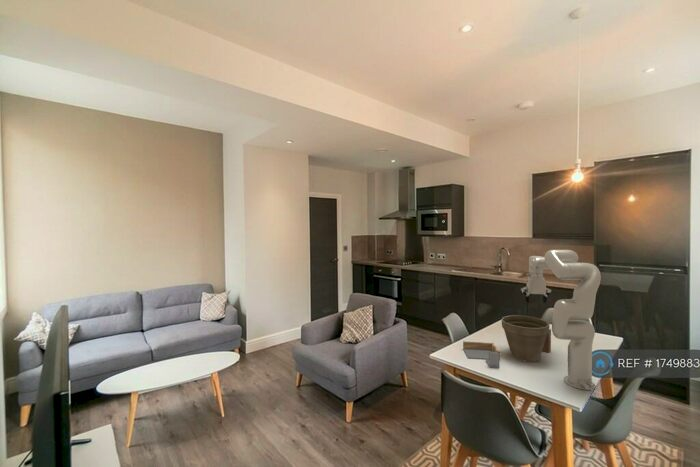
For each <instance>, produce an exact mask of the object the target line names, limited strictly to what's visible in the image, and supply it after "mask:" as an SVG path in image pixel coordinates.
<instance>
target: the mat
mask: <svg viewBox="0 0 700 467" xmlns="http://www.w3.org/2000/svg"><path fill="white" fill-rule="evenodd" d="M463 351H464V353H465V355H466V358H467V359H468V360H469V359H473V360H485V361H486V358H489V352H492V351H491V350H473V349H464V350H463ZM499 361H501V358H500V359H499Z"/></svg>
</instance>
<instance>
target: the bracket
mask: <svg viewBox="0 0 700 467" xmlns="http://www.w3.org/2000/svg"><path fill="white" fill-rule="evenodd" d="M485 362H486V364H487V366H488V367H489V368H491V369H500V360H499V353H498V352H489V358H486V360H485Z"/></svg>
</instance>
